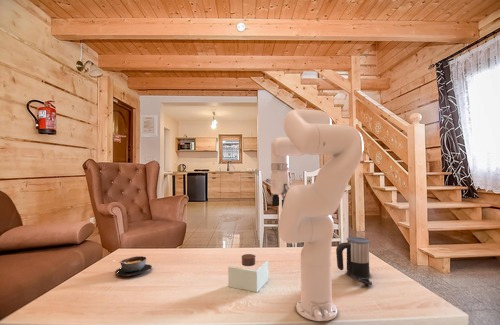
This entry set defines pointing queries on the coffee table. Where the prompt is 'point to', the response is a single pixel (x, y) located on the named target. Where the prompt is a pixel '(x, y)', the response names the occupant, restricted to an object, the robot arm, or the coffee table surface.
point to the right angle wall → (248, 277)
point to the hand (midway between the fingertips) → (280, 207)
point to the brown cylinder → (248, 260)
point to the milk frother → (355, 258)
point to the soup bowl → (133, 266)
